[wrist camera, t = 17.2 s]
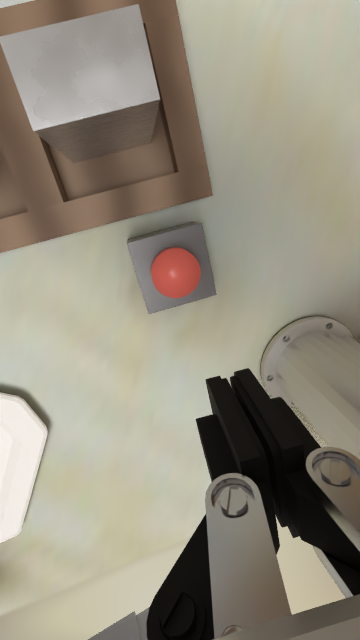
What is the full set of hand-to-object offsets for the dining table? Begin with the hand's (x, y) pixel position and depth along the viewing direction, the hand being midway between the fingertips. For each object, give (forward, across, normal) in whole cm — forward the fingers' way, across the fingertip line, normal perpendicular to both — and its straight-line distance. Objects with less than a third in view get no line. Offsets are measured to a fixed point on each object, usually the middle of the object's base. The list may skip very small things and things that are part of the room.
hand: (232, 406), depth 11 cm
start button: (+18, 0, -2) cm, 18 cm away
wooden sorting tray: (+22, +9, -15) cm, 28 cm away
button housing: (+22, 0, -2) cm, 23 cm away
